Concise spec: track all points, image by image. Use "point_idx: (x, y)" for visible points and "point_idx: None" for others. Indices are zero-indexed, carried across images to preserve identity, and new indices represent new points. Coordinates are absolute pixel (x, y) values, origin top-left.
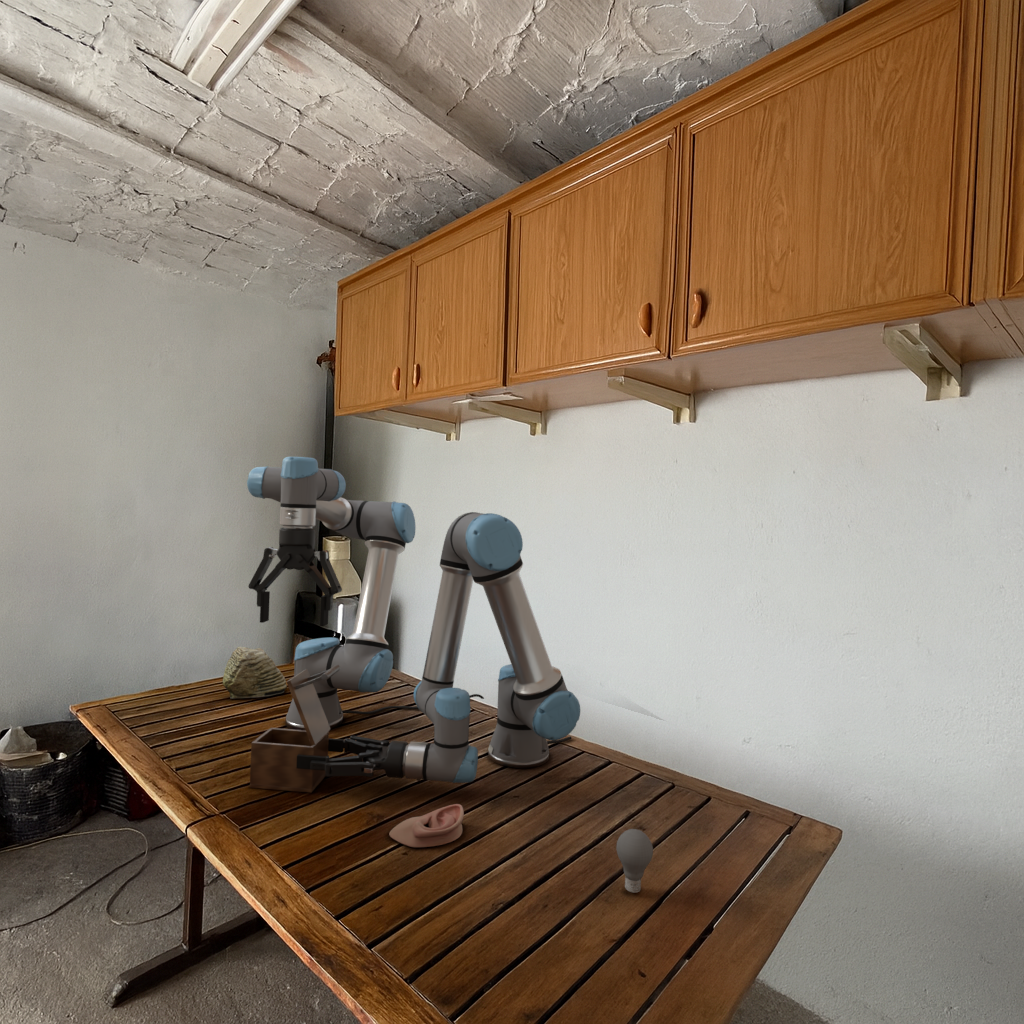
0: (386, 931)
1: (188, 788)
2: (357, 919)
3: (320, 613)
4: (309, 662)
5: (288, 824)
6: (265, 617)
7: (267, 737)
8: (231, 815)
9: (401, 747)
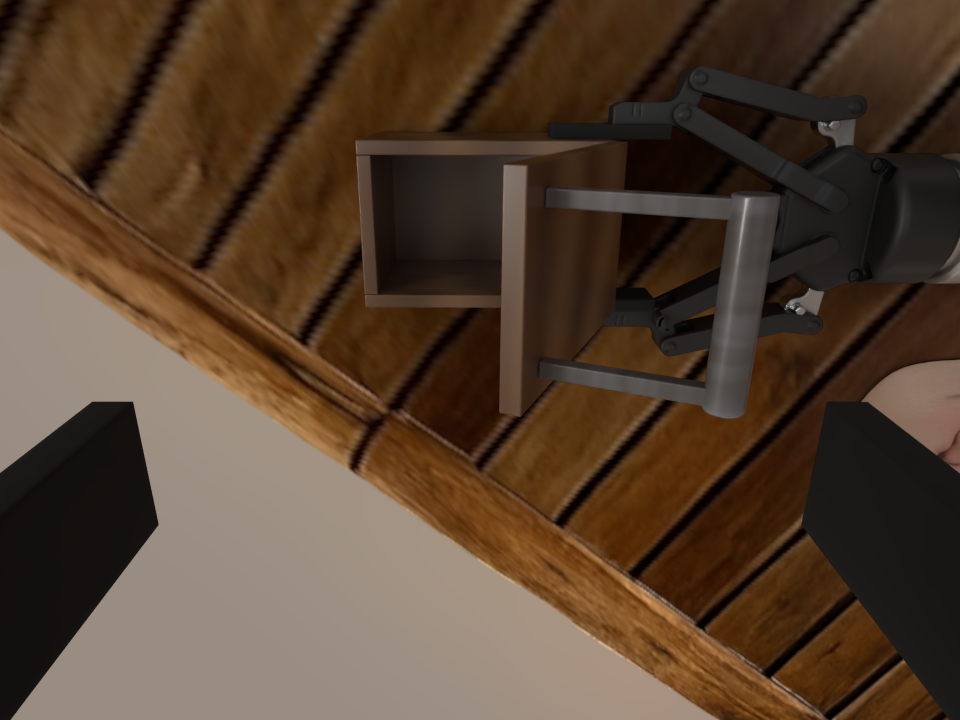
0: (852, 690)
1: (219, 299)
2: (801, 673)
3: (878, 625)
4: None
5: (580, 432)
6: (125, 507)
7: (375, 197)
8: (423, 415)
9: (942, 261)
